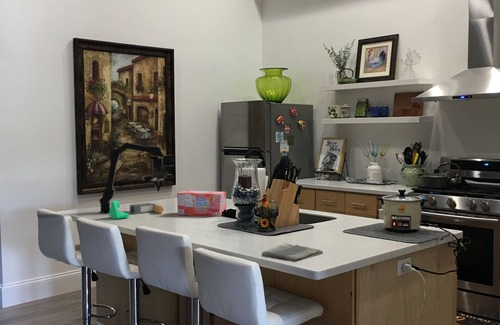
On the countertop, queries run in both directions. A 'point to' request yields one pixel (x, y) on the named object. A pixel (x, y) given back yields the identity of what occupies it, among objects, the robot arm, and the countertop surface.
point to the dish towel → (291, 252)
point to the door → (158, 209)
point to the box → (201, 203)
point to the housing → (142, 208)
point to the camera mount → (116, 211)
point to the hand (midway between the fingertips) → (158, 191)
